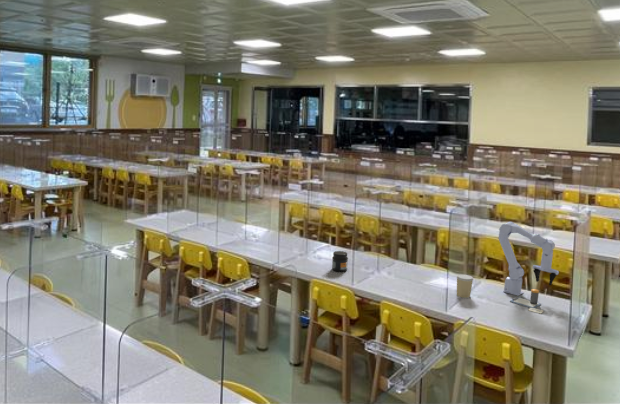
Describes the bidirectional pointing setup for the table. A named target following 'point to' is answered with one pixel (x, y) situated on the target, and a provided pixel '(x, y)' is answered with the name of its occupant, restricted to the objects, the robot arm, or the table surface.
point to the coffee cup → (464, 285)
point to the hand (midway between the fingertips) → (543, 283)
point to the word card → (535, 310)
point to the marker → (534, 296)
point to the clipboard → (524, 302)
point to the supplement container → (339, 261)
